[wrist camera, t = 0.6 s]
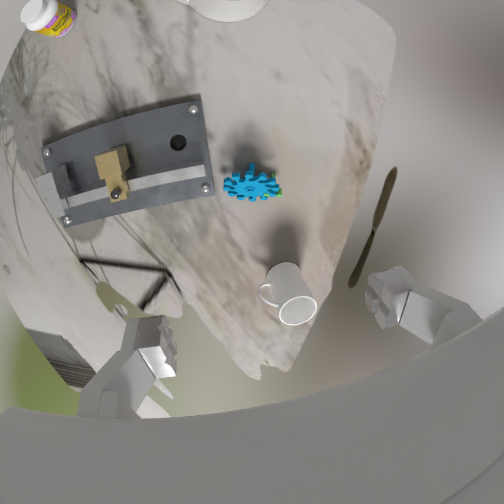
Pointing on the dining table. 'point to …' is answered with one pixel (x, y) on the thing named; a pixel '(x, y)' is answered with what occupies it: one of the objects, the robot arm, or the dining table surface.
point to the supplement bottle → (48, 17)
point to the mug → (289, 294)
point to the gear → (252, 185)
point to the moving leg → (114, 171)
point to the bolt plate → (135, 158)
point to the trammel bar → (58, 180)
